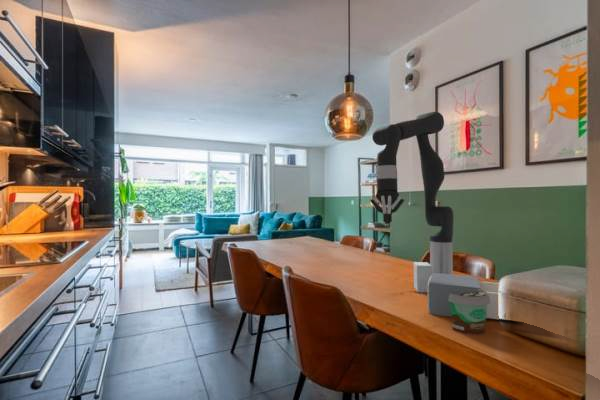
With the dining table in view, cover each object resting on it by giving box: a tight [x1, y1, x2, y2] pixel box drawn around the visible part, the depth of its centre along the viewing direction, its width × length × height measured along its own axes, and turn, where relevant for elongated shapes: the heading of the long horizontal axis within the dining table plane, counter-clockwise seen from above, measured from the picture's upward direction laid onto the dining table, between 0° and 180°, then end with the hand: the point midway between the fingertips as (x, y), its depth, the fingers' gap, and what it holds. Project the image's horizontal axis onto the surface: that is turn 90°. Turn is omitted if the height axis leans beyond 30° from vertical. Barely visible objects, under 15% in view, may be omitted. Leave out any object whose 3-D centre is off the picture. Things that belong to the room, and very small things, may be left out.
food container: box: [448, 289, 490, 335], centre depth 82 cm, size 12×6×10 cm, turn 114°
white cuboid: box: [426, 276, 500, 320], centre depth 97 cm, size 25×14×8 cm, turn 63°
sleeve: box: [428, 273, 481, 318], centre depth 100 cm, size 14×16×10 cm
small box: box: [413, 261, 432, 293], centre depth 123 cm, size 8×6×10 cm
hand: (387, 223), depth 116 cm, fingers closed
